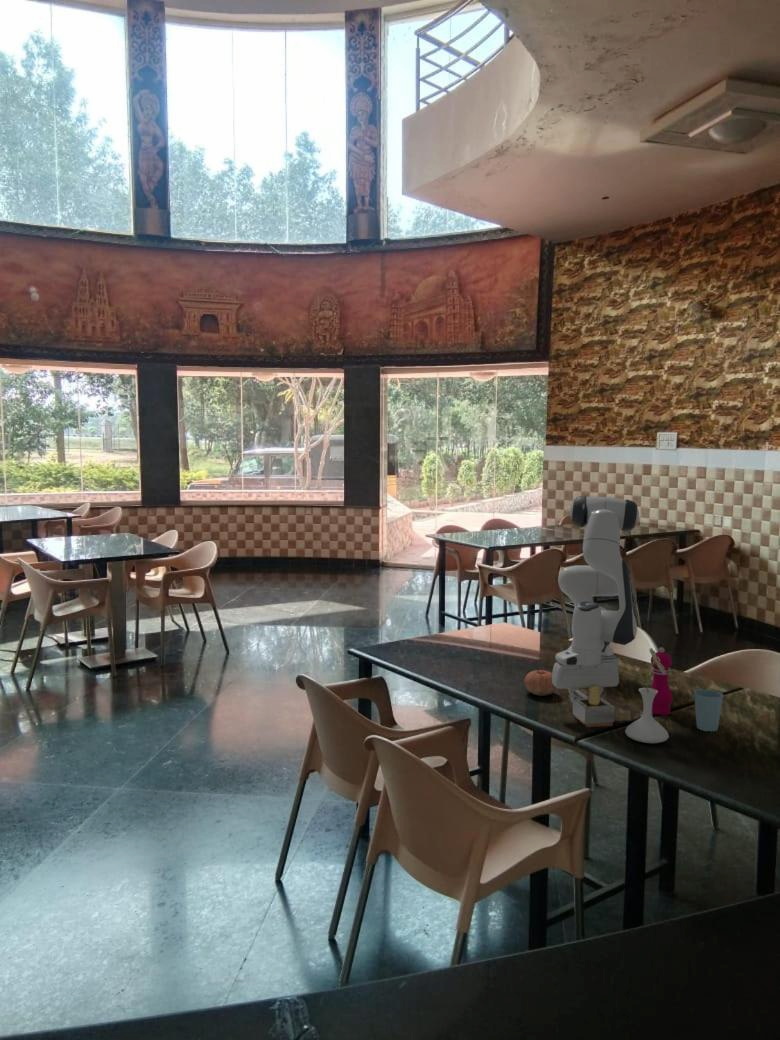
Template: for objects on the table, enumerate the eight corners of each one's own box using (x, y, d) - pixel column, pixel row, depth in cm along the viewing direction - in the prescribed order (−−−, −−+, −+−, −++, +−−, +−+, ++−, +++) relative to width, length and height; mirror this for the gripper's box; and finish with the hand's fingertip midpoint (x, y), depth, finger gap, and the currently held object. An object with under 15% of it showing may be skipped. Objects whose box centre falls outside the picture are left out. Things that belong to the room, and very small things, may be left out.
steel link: (562, 705, 235) (562, 690, 235) (589, 703, 236) (590, 689, 236) (584, 723, 218) (585, 708, 218) (614, 722, 220) (614, 706, 219)
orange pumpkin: (561, 699, 244) (562, 674, 244) (528, 699, 244) (528, 675, 243) (552, 689, 255) (553, 665, 254) (520, 689, 254) (521, 666, 254)
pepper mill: (656, 716, 228) (658, 650, 226) (642, 708, 235) (644, 645, 233) (677, 714, 230) (679, 649, 228) (662, 706, 237) (664, 643, 235)
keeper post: (575, 717, 226) (576, 681, 225) (600, 716, 227) (601, 680, 226) (586, 727, 218) (587, 689, 217) (612, 725, 219) (613, 688, 219)
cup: (688, 723, 222) (690, 688, 221) (715, 724, 221) (717, 689, 220) (697, 732, 214) (699, 696, 213) (725, 733, 213) (727, 697, 213)
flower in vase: (664, 750, 201) (667, 657, 199) (620, 742, 206) (623, 652, 204) (672, 735, 212) (675, 647, 210) (631, 727, 218) (633, 642, 216)
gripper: (614, 652, 232) (612, 696, 233) (550, 654, 229) (549, 699, 230) (623, 657, 226) (622, 703, 227) (558, 660, 223) (557, 706, 224)
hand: (585, 701), depth 229 cm, fingers open, 5 cm apart
